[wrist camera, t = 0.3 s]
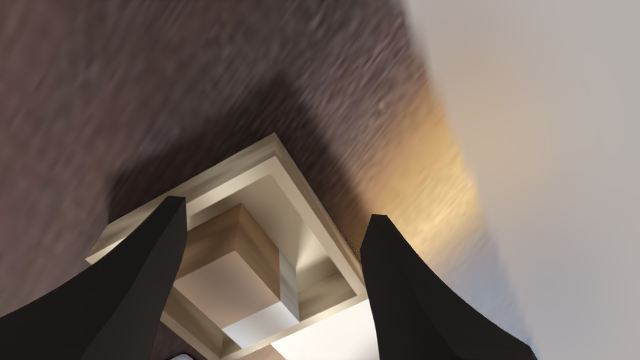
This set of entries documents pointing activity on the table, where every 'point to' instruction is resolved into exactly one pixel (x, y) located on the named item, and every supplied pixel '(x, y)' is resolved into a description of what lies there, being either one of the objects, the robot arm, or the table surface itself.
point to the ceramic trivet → (334, 337)
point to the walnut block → (238, 277)
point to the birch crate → (278, 223)
